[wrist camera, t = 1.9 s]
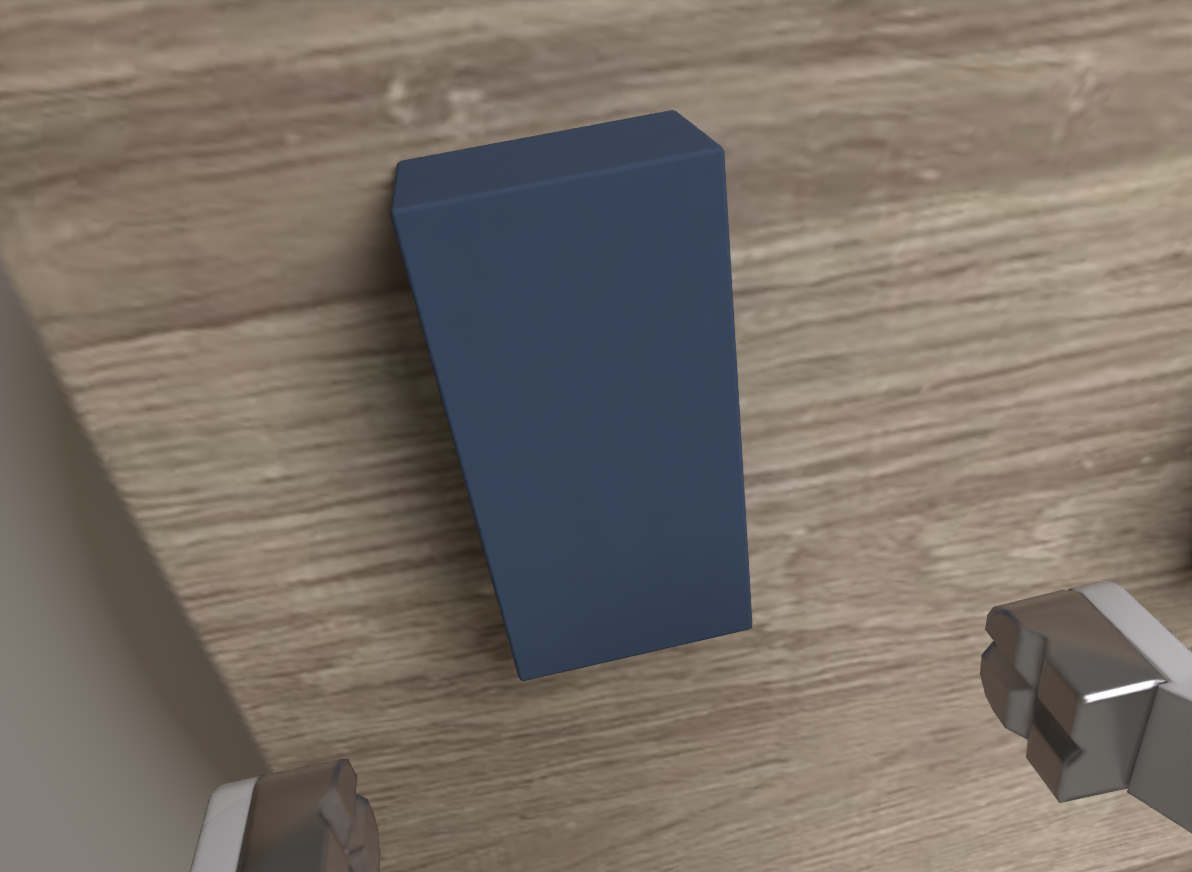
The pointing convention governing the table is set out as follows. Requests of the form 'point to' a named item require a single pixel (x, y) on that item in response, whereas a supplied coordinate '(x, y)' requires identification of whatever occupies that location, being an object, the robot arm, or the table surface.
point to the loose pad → (589, 380)
